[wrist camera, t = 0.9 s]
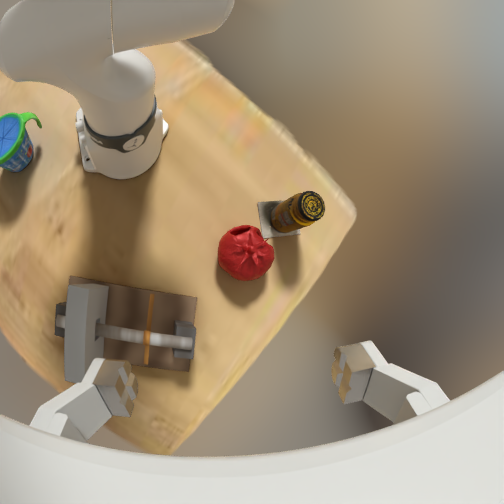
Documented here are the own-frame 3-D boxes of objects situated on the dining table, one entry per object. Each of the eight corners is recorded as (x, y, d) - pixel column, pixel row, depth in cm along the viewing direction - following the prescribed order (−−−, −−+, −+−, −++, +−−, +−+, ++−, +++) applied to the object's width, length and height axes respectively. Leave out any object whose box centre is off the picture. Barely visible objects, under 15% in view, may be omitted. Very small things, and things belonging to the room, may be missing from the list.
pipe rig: (66, 349, 40) (49, 362, 32) (71, 275, 42) (54, 274, 34) (188, 370, 48) (194, 387, 39) (196, 297, 50) (204, 301, 41)
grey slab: (88, 354, 40) (64, 380, 27) (93, 283, 42) (68, 284, 29) (103, 357, 41) (84, 385, 28) (108, 286, 43) (89, 289, 30)
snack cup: (2, 198, 38) (-22, 183, 28) (-10, 163, 36) (-31, 145, 27) (56, 150, 42) (40, 127, 33) (41, 119, 41) (26, 94, 32)
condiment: (300, 234, 58) (332, 223, 46) (262, 238, 55) (289, 227, 44) (294, 200, 58) (324, 183, 47) (257, 202, 55) (282, 183, 44)
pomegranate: (255, 287, 54) (274, 290, 45) (206, 269, 51) (217, 269, 42) (270, 239, 55) (292, 233, 47) (224, 220, 53) (238, 210, 44)
